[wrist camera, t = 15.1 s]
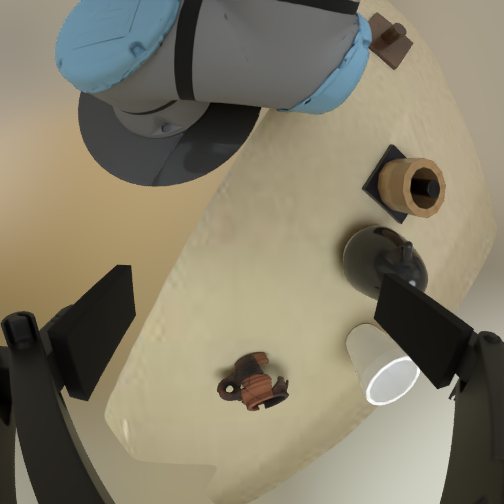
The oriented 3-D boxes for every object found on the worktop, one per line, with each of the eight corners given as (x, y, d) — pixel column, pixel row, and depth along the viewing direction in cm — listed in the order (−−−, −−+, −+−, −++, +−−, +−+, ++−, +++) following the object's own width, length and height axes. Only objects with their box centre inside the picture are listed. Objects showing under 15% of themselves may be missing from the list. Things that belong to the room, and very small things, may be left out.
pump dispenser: (383, 211, 41) (446, 229, 26) (394, 270, 43) (450, 306, 29) (326, 231, 41) (375, 261, 26) (341, 292, 44) (386, 341, 29)
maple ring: (369, 189, 39) (393, 192, 32) (394, 149, 37) (420, 146, 30) (401, 220, 40) (427, 228, 33) (425, 182, 39) (452, 185, 32)
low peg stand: (354, 37, 33) (369, 23, 27) (374, 14, 31) (388, 1, 26) (393, 69, 34) (411, 60, 29) (410, 44, 33) (427, 35, 28)
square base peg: (361, 188, 39) (397, 193, 30) (390, 144, 38) (428, 140, 28) (398, 223, 41) (436, 236, 32) (424, 181, 40) (463, 185, 30)
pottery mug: (280, 344, 46) (299, 386, 40) (271, 368, 52) (286, 404, 46) (210, 360, 42) (224, 407, 36) (211, 382, 48) (223, 421, 42)
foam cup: (361, 307, 45) (398, 348, 32) (392, 327, 47) (429, 365, 34) (327, 349, 46) (353, 398, 34) (361, 365, 48) (389, 409, 36)
